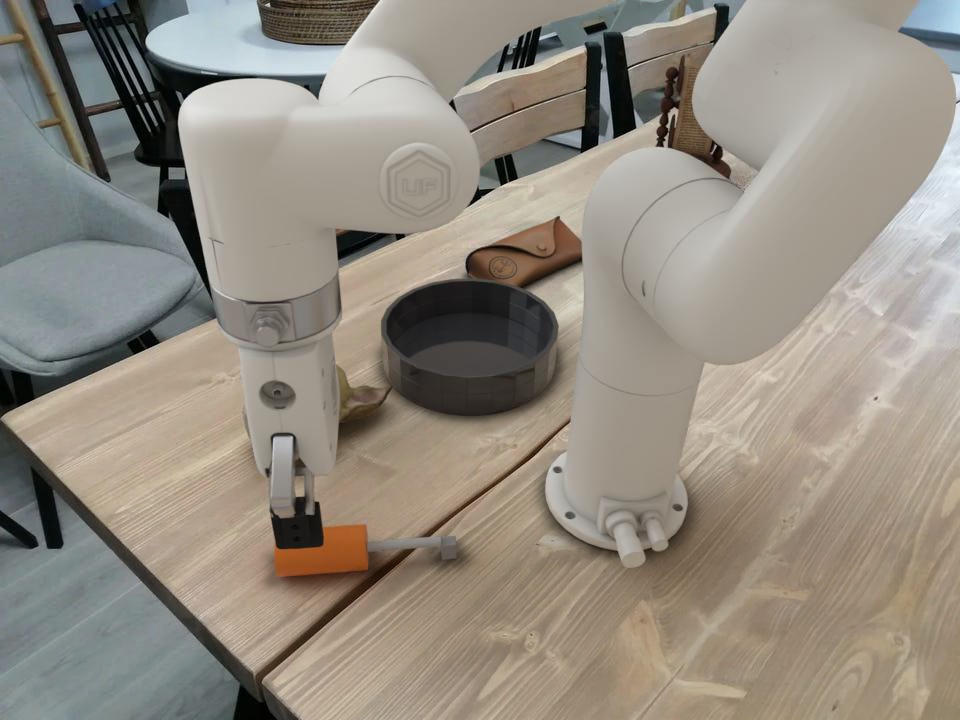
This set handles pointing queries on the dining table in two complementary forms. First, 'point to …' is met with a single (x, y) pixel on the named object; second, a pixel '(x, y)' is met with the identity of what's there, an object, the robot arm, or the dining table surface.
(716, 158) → the manuscript holder
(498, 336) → the bowl
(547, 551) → the dining table surface
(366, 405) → the ceramic sculpture
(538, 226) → the sunglasses case
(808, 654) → the dining table surface
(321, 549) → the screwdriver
